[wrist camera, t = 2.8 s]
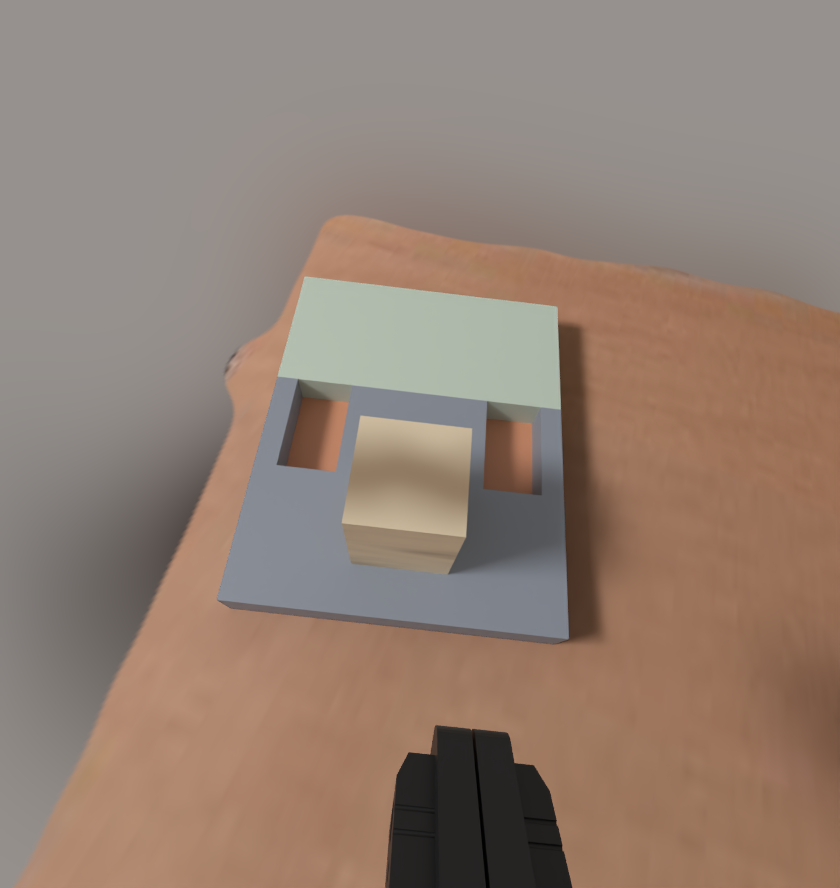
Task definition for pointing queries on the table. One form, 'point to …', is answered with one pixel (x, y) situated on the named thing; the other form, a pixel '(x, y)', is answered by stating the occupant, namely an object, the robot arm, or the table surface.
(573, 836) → the table surface
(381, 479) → the birch block
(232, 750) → the table surface
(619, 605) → the table surface
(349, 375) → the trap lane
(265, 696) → the table surface
